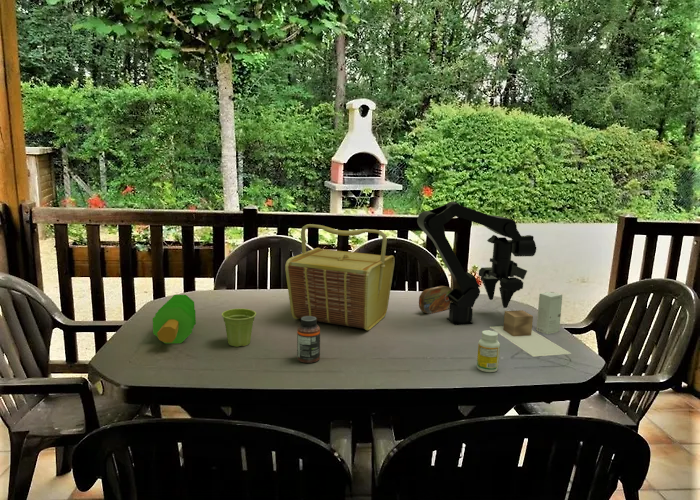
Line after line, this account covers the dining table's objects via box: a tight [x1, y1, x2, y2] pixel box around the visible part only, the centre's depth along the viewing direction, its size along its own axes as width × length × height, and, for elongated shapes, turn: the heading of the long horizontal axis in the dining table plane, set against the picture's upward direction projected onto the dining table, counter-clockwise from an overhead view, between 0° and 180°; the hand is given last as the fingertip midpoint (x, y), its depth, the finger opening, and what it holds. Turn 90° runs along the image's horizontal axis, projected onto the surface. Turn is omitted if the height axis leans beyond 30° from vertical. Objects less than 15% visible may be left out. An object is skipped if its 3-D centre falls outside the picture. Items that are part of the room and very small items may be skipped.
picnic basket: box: [284, 223, 396, 331], centre depth 177 cm, size 29×26×30 cm
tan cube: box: [503, 309, 534, 336], centre depth 169 cm, size 6×6×6 cm
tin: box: [418, 285, 453, 315], centre depth 190 cm, size 15×3×8 cm, turn 129°
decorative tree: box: [152, 294, 197, 345], centre depth 161 cm, size 11×12×30 cm
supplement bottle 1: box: [296, 316, 321, 364], centre depth 144 cm, size 6×6×11 cm
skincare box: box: [535, 291, 563, 335], centre depth 171 cm, size 6×4×12 cm
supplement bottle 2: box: [476, 329, 501, 373], centre depth 142 cm, size 5×5×10 cm
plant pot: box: [221, 308, 257, 348], centre depth 154 cm, size 9×9×9 cm
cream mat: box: [489, 325, 572, 358], centre depth 164 cm, size 12×25×1 cm, turn 14°
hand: (497, 303), depth 180 cm, fingers open, 9 cm apart
